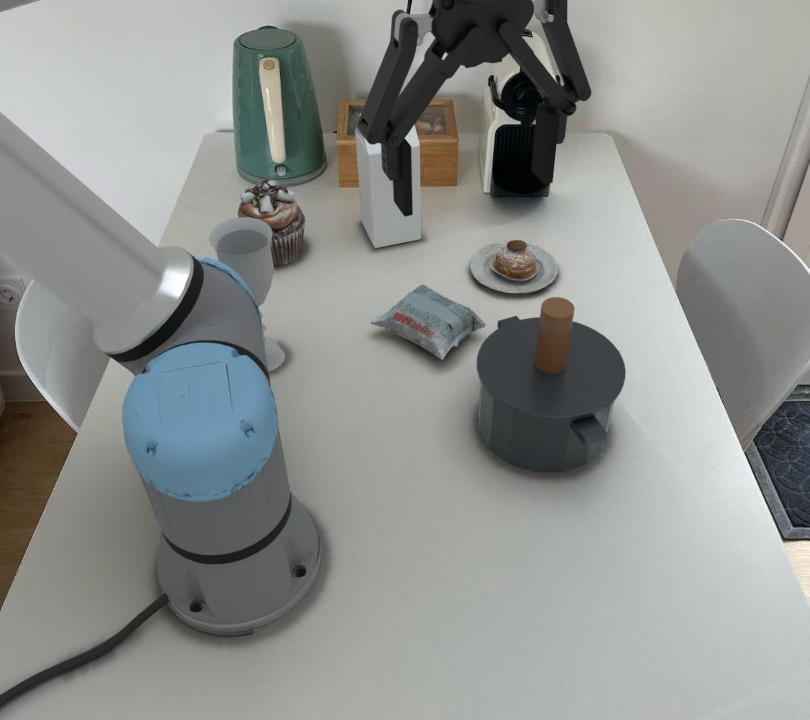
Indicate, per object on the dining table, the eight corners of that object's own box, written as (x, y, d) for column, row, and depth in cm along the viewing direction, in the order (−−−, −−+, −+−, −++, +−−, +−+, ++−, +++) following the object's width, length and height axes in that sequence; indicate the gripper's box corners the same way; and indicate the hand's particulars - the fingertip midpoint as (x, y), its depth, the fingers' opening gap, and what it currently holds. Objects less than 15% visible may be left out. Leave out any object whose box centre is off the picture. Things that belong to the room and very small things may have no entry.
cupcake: (228, 259, 115) (215, 197, 109) (269, 225, 122) (259, 165, 115) (282, 277, 112) (273, 215, 105) (322, 242, 118) (315, 181, 111)
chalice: (228, 349, 101) (200, 227, 89) (279, 332, 103) (259, 211, 91) (248, 385, 96) (220, 262, 84) (301, 367, 98) (282, 243, 86)
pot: (525, 511, 82) (532, 452, 76) (449, 387, 95) (450, 328, 89) (644, 470, 85) (660, 411, 79) (554, 356, 99) (562, 298, 93)
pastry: (515, 311, 105) (517, 282, 102) (451, 271, 112) (452, 243, 109) (575, 273, 111) (579, 245, 108) (511, 237, 118) (513, 210, 114)
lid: (516, 443, 77) (523, 377, 71) (453, 346, 88) (454, 281, 82) (653, 400, 81) (670, 334, 75) (576, 311, 92) (586, 247, 86)
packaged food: (442, 374, 97) (443, 343, 93) (369, 333, 103) (368, 302, 99) (486, 338, 102) (488, 307, 98) (414, 301, 107) (414, 270, 104)
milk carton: (361, 223, 121) (352, 103, 108) (406, 215, 123) (403, 95, 110) (374, 249, 116) (366, 126, 103) (421, 240, 118) (419, 117, 105)
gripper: (333, -28, 52) (354, 245, 67) (662, -76, 59) (617, 183, 73) (301, -59, 58) (328, 200, 72) (607, -100, 64) (575, 146, 78)
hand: (474, 192), depth 73 cm, fingers open, 13 cm apart
